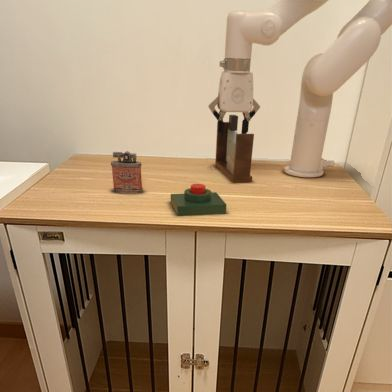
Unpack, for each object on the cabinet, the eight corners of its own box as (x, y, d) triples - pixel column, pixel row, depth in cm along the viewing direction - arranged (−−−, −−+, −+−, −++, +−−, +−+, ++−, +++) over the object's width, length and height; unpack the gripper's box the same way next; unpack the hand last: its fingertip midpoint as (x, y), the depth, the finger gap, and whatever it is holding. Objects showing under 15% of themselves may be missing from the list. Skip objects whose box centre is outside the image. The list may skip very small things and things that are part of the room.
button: (203, 190, 102) (203, 183, 101) (206, 195, 99) (207, 187, 98) (189, 191, 101) (189, 183, 100) (192, 195, 98) (192, 188, 97)
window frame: (232, 164, 140) (235, 121, 132) (252, 182, 123) (257, 134, 115) (215, 165, 139) (217, 121, 131) (233, 183, 122) (237, 134, 114)
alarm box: (215, 200, 107) (216, 185, 105) (225, 213, 100) (227, 196, 97) (170, 202, 105) (170, 186, 103) (177, 215, 97) (177, 198, 95)
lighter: (143, 190, 113) (141, 151, 107) (141, 193, 110) (139, 153, 104) (114, 189, 113) (111, 149, 107) (112, 192, 111) (108, 152, 104)
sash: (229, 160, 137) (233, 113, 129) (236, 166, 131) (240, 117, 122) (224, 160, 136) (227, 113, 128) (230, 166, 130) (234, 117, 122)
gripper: (211, 66, 113) (208, 137, 124) (270, 67, 116) (262, 137, 127) (205, 65, 119) (202, 133, 130) (261, 66, 122) (254, 132, 133)
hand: (232, 134), depth 128 cm, fingers open, 7 cm apart
